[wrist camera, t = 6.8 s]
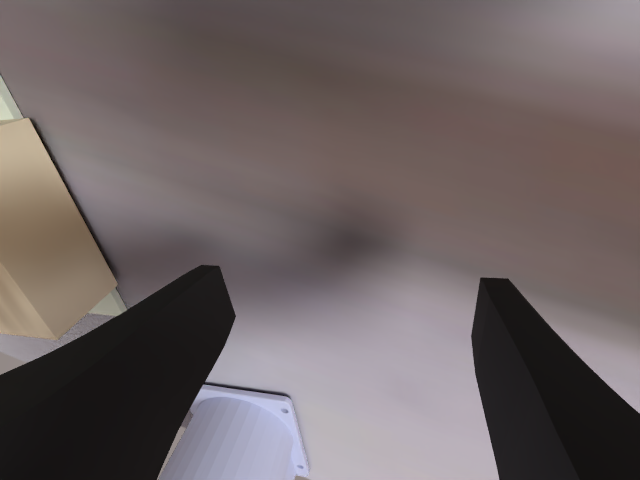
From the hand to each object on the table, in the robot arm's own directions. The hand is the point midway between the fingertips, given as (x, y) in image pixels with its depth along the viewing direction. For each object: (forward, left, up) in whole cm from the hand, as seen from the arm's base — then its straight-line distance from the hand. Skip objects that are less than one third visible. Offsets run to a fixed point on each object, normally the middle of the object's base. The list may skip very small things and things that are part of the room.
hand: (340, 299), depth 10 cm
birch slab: (0, +14, -3) cm, 14 cm away
